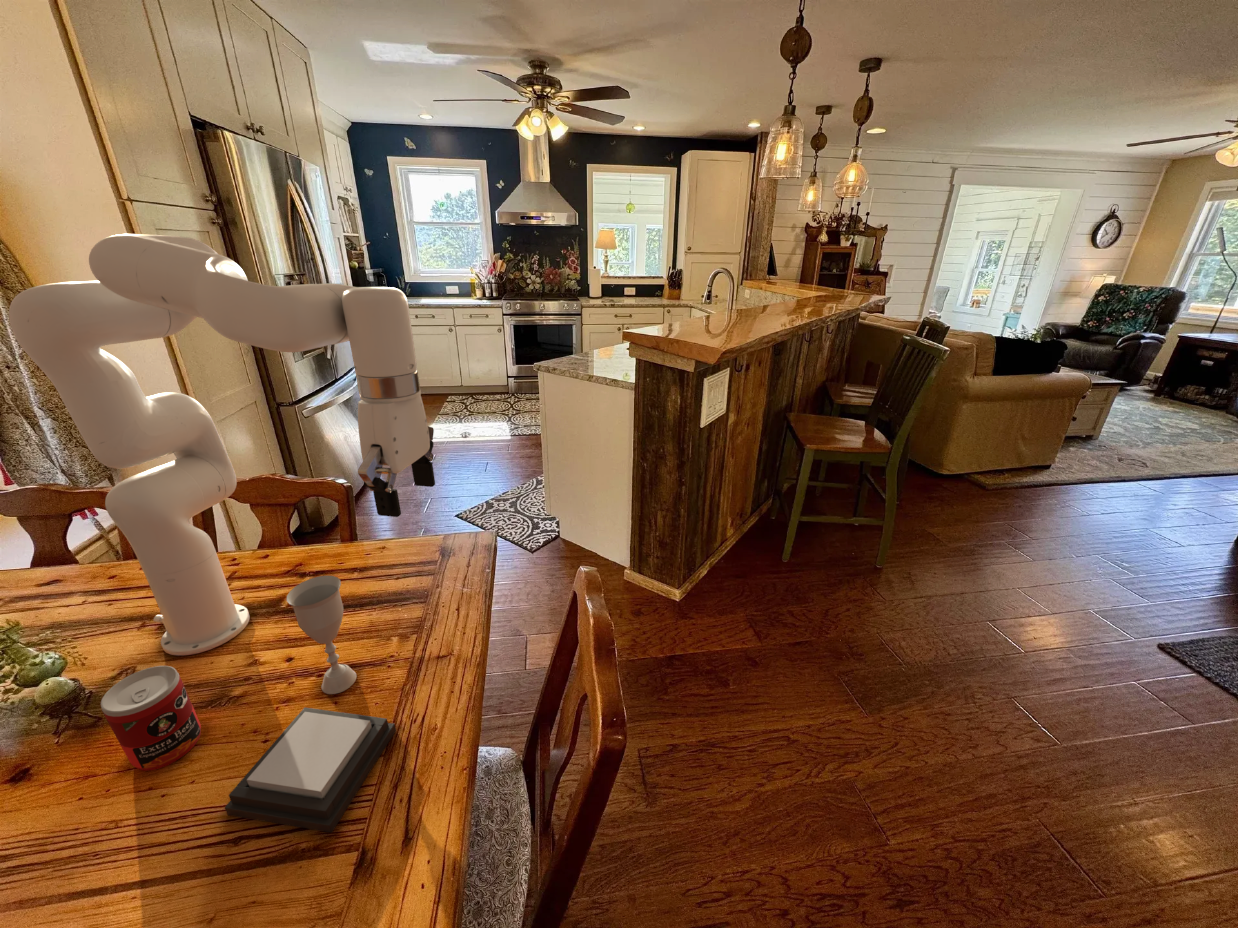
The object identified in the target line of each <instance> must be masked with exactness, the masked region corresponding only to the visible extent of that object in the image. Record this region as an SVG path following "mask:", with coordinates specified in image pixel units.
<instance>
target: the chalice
mask: <svg viewBox="0 0 1238 928" xmlns="http://www.w3.org/2000/svg"><path fill="white" fill-rule="evenodd" d="M341 581H342V580H341V579H340V578H339V577H337V576H334V575H319V576H315V577H312V578H309V579H306V580H304V581H302V582H300V583H298V584H297V585H295V586H294V587H293V588H292V589H291V590H290V591H288V594H287V595H286V602H287V603H288V605H290V606H292V608H293V612H294V614H295V618H296V622H297V625H298V627H299V628H300V629H301V631H303V632H304V634H306V636H307V637H309V638H310V639H312V640H313V641H315V642H316V643H317V644H320V645H325V649H324V653H325V654H327V655H328V656H327V658H326V662H327V663H328V664H330V665H331V667H329V668H328V669H327V670H326V672H325V673H324V674H323V675H324V676H323V679H322V684H321V691H322V692H323V693H324V694H327V695H336V694H339V693H342V692H345V691H346V690H348V689H349V688H350V687H351V686H353V685H354V683H355V682H356V680H357V673H356V672H355V670H353V669H352V668H351V667H350V666H349V665H348V664H344V663H339V661H338V660H339V659H340V655H339V654H338V653H336V649H337V646H336V645H335V644H334V643H333V641H334V640H335V639H336V638H337V637H338V634H339V631H340V627H341V625H342V622H343V617H344V610H345V609H344V604H343V601H342V596H341V593H340V589H341V586H342V582H341Z"/></svg>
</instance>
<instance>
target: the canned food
mask: <svg viewBox="0 0 1238 928" xmlns="http://www.w3.org/2000/svg"><path fill="white" fill-rule="evenodd" d="M100 708H101V711H102V713H103V715H104V718H105V719H106V721H107V723H108V725H109V727H110V729H111V730H112V732H113V734H114V736H115V738H116V739H117V741H118V744H119V745H120V747H121V749H122V750H123V752H124V754H125V756H126V758H127V759H128V762H129V763H130V765H131V766H133V767H134V768H136V769H137V770H140V771H145V772H147V771H155V770H158V769H162V768H165V767H167V766H169V765H171V764H173V763H176V762H177V761H178V760H180V759H181V758H183V757H184V756H185V755H187V754H188V753H189V752H190V751H191V750H192V749H193V748H194V747H195V745H197V743H198V742H199V739H200V737H201V732H202V725H201V722H200V720H199V717H198V715H197V713H196V711H195V708H194V705H193V704H192V700H191V698H190V696H189V694H188V691H187V689H186V687H185V684H184V682H183V679H182V678H181V676H180V673H179V672H178V670H177V669H176V668H175V667H173V666H169V665H156V666H152V667H151V666H150V667H147V668H144V669H141V670H138V671H136V672H133V673H131V674H130V675H128V676H126V677H123V679H121V680H119V681H118V682H117V683H115V684H114V685H113V686H112V687H110V688H109V689H108V690H107V691H106V693H105V694H104V695H103V696H102V698H101V701H100Z"/></svg>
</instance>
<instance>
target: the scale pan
mask: <svg viewBox="0 0 1238 928" xmlns="http://www.w3.org/2000/svg"><path fill="white" fill-rule="evenodd" d="M371 729H372V726H371V722H370V721H368V720H361V719H353V718H346V717H339V716H332V715H325V714H317V713H310V712H304V713H303V715H302V716H301V717H300V718H299V719H298V720H297V722H296V723H295V724H294V725H293V726H292V727H291V729H290V730H289V731H288V732H287V733H286V734H285V736H284V737H283V738H282V739H281V740H280V741H279V743H278V744H277V745H276V746H275V747H274V748H273V750H272V751H271V752H270V753H269V754H268V755H267V757H266V758H265V759H264V760H263V761H262V762H261V764H260V765H259V766H258V767H257V768H256V769H255V771H254V772H253V773H252V774H251V775H250V776H249V778H248V779H247V782H248V784H249V787H250V788H253V789H259V790H266V791H272V792H278V793H284V794H290V795H296V796H303V797H309V798H315V799H321V800H323V799H324V798H325V796H326V795H327V793H328V792H329V791H330V789H331V788H332V786H333V785H334V783H335V782H336V780H337V779H338V777H339V776H340V774H341V773H342V772H343V770H344V769H345V767H346V766H347V764H348V763H349V761H350V760H351V758H352V757H353V755H354V754H355V752H356V751H357V750H358V748H359V747H360V745H361V744H362V742H363V741H364V739H365V738H366V736H367V735H368V733H369V732H370V731H371Z"/></svg>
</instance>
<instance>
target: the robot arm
mask: <svg viewBox="0 0 1238 928" xmlns="http://www.w3.org/2000/svg"><path fill="white" fill-rule="evenodd" d="M88 264H89V268H90V271H91V273H92V274H93V276H94V277H95V279H96V280H85V281H63V282H62V281H61V282H53V283H46V284H41V285H36V286H33V287H29V288H27V289H25V290H23V291H21V292H19V293H17V294H16V295H15V296H14V298H13V299H12V301H11V302H10V305H9V309H8V320H9V321H8V322H9V325H10V329H11V331H12V333H13V335H14V337H15V339H16V342H17V343H18V344H19V346H20V347H21V348H22V349H23V351H24V352H25V354H27V356H28V357H29V358H30V360H32V361H33V363H34V364H35V365H36V366H37V367H38V368H39V370H41V371H42V372H43V373H44V375H45V376H46V377H47V378H48V379H49V381H50V382H51V383H52V384H53V386H54V388H55V390H56V391H57V393H58V394H59V397H60V399H61V401H62V403H63V405H64V407H65V408H66V410H67V412H68V413H69V416H70V417H71V419H72V421H73V423H74V425H75V427H76V428H77V431H78V432H79V434H80V436H81V437H82V439H83V441H84V443H85V444H86V446H87V448H88V449H89V451H90V452H91V454H92V455H93V457H94V458H95V459H96V460H97V461H98V462H99V463H100V464H102V465H103V466H105V467H108V468H110V469H128V468H133V467H136V466H141V465H143V464H146V463H150V462H152V461H156V460H158V459H161V458H163V457H166V456H169V455H172V454H173V455H174V457H175V458H176V459H173V460H170V461H168V462H166V463H163V464H159V465H157V466H154V467H152V468H149V469H147V470H143V471H141V472H139V473H136V474H134V475H131V476H129V477H127V478H125V479H123V480H121V481H119V482H118V483H117V484H115V485H114V486H113V487H112V488H111V489H110V490H109V491H108V493H107V494H106V496H105V501H104V505H105V510H106V512H107V514H108V516H109V517H110V519H111V520H112V521H113V522H114V524H115V525H116V527H117V528H118V529H119V531H121V533H122V535H123V536H124V537H125V539H126V540H127V542H128V543H129V545H130V547H131V549H132V551H133V552H134V554H135V557H136V560H137V561H138V563H139V565H140V568H141V570H142V572H143V574H144V576H145V579H146V581H147V583H148V586H149V588H150V590H151V593H152V595H153V597H154V599H155V602H156V604H157V607H158V609H159V613H160V614H156V615H155V616H154V617H153V619H152V620H153V622H154V623H158V624H163V626H164V628H165V632H164V633H163V635H162V636H161V639H160V646H161V648H162V650H163V651H164V652H165V653H166V654H169V655H170V656H180V657H181V656H191V655H196V654H200V653H201V654H202V653H204V652H207V651H210V650H212V649H215V648H217V647H220V646H222V645H223V644H225V643H227V642H228V641H231V640H232V639H233V638H235V637H236V636H238V635H239V634H240V633H241V632H242V631H243V630H244V629H245V628H246V627H247V626H248V624H249V622H250V619H251V618H250V617H251V615H250V613H249V610H248V608H247V607H246V606H244V605H241V604H237V603H235V601H234V598H233V595H232V593H231V590H230V587H229V584H228V581H227V579H226V576H225V573H224V570H223V568H222V565H221V562H220V558H219V557H218V554H217V550H216V548H215V546H214V542H213V540H212V538H211V537H210V535H209V534H208V533H206V531H204V530H202V529H200V528H198V527H197V526H195V525H193V524H191V522H190V519H191V518H193V517H194V516H197V515H198V514H200V513H202V512H203V511H206V510H208V509H210V508H212V507H213V506H215V505H217V504H219V503H221V502H223V501H225V500H226V499H228V498H229V497H230V496H232V495H233V494H234V492H235V491H236V488H237V483H238V481H237V474H236V471H235V468H234V466H233V463H232V461H231V458H230V456H229V454H228V452H227V450H226V447H225V445H224V443H223V440H222V438H221V435H220V434H219V431H218V428H217V426H216V424H215V422H214V420H213V418H212V416H211V415H210V412H209V411H207V409H206V408H205V407H204V405H202V403H200V402H199V401H198V400H197V399H195V398H193V397H192V396H190V395H187V394H185V393H181V392H175V391H170V392H169V391H168V392H161V393H156V394H152V395H149V396H146V394H145V392H144V391H143V389H142V387H141V386H140V384H139V380H138V379H137V377H136V375H135V373H134V372H133V371H132V369H130V367H129V366H127V364H125V363H124V362H123V361H122V360H120V359H119V358H117V357H116V356H115V355H113V354H111V353H110V352H108V351H107V350H105V349H102V348H101V347H105V346H110V345H117V344H127V343H133V342H140V341H147V340H153V339H162V338H167V337H170V336H174V335H175V334H178V333H180V332H181V331H183V330H184V329H185V328H187V326H189V325H190V324H191V323H192V322H194V320H196V319H197V318H200V319H203V320H204V321H205V322H206V324H207V325H208V326H210V327H211V328H212V329H213V330H214V331H216V332H217V333H218V334H220V335H221V336H223V337H225V338H227V340H228V339H229V340H230V341H234V342H237V343H241V344H245V345H249V346H251V347H252V346H253V347H256V348H260V349H261V348H262V349H264V350H265V349H266V350H270V351H276V352H280V353H301V352H305V351H306V352H307V351H311V350H314V349H318V348H323V347H327V346H333V345H339V344H343V343H346V342H347V343H348V342H349V345H350V351H351V357H352V362H353V367H354V372H355V373H354V374H355V378H356V383H357V389H358V394H359V399H360V400H359V401H358V402H357V426H358V427H357V429H358V437H359V438H358V439H359V445H360V453H361V459H362V462H361V464H360V466H359V467H358V469H357V475H358V476H359V477H360V479H361V480H362V481H363V484H364V487H367V488H368V489H369V491H370V492H372V493H373V497H374V502H375V503H374V504H375V508H376V513H377V515H378V516H381V517H393V518H399V517H400V516H401V515H402V510H401V505H400V499H399V493H398V489H396V488H394V487H395V484H396V479H397V475H398V474H400V473H401V472H402V471H404V470H406V469H407V468H408V467H409V466H410V467H411V472H412V479H413V484H414V486H417V487H430V488H433V487H434V486H436V479H435V473H434V472H435V471H434V466H433V461H434V454H433V453H432V452H433V449H434V445H435V444H434V432H435V429H434V427H432V426H430V425H428V420H427V415H426V410H425V407H424V403H423V398H422V396H421V395H422V392H421V385H420V377H419V371H418V364H417V363H418V362H417V357H416V356H417V355H416V349H415V342H414V341H415V340H414V335H413V328H412V321H411V314H410V307H409V301H408V298H407V296H406V294H405V293H404V292H403V291H402V290H401V289H399V288H396V287H390V286H389V287H388V286H353V285H346V284H341V283H329V282H328V283H306V284H305V283H303V284H290V285H269V284H263V283H259V282H255V281H250V280H249V279H248V277H247V275H246V273H245V271H244V270H243V268H242V267H241V266H240V265H239V264H238V263H237V262H235V261H234V260H233V259H231V258H230V257H228V256H225V255H222V254H219V253H218V252H217V251H216V250H214V248H212V247H211V246H209V245H208V244H206V243H205V242H203V241H201V240H199V239H197V238H196V239H195V238H193V237H190V236H189V237H188V236H182V235H163V234H162V235H161V234H144V233H143V234H142V233H122V234H115V235H114V234H113V235H110V236H106V237H105V238H102V239H101V240H98V242H96V243H95V244H94V245H93V247H92V248H91V249H90V252H89V256H88ZM383 466H389V467H383ZM382 475H387V476H386V480H384V479H382V478H381V477H382Z"/></svg>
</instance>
